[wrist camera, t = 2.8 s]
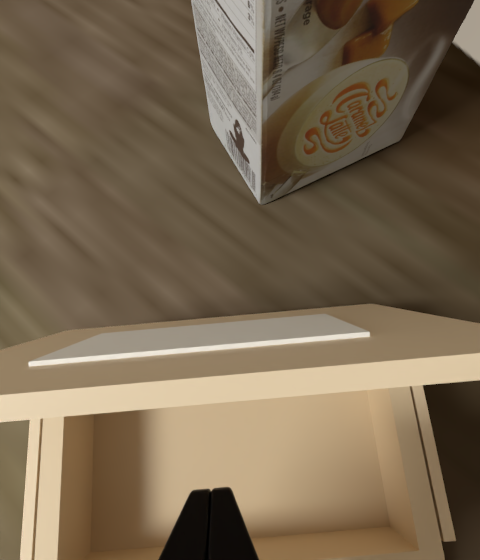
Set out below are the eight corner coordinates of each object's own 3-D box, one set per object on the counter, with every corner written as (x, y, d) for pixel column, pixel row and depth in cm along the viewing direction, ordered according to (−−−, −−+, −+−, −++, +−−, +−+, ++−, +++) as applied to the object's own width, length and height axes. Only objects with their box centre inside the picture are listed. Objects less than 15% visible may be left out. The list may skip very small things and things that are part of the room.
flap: (590, 370, 6) (587, 336, 6) (-218, 441, 6) (-220, 407, 6) (372, 313, 16) (371, 300, 16) (68, 340, 16) (66, 327, 16)
